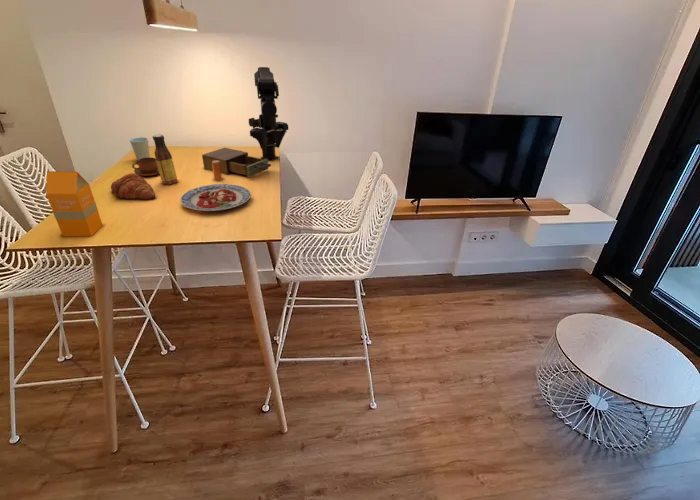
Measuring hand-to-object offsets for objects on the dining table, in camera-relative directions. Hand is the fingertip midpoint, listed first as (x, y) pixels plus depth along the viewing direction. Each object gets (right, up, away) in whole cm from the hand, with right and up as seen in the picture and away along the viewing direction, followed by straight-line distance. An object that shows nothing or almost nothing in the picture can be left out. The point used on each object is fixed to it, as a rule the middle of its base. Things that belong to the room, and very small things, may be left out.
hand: (271, 149), depth 164 cm
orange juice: (-53, -37, -40) cm, 76 cm away
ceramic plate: (-18, -24, -16) cm, 34 cm away
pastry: (-51, -21, -13) cm, 57 cm away
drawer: (-11, -7, +12) cm, 18 cm away
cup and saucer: (-56, -9, +7) cm, 57 cm away
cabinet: (-25, -4, +18) cm, 31 cm away
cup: (-66, 0, +21) cm, 70 cm away
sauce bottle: (-43, -14, -1) cm, 45 cm away
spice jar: (-24, -12, +4) cm, 27 cm away
